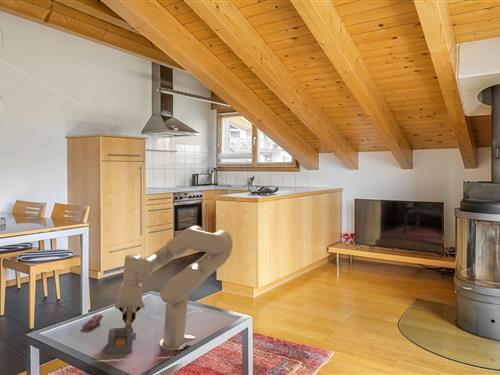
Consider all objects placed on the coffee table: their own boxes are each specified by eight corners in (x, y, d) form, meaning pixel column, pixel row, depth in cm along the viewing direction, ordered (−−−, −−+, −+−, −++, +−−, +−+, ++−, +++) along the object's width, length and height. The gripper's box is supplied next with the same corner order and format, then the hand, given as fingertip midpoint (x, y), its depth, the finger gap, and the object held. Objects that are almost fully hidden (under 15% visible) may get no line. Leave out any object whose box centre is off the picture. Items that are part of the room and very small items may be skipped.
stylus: (131, 331, 182) (133, 301, 181) (131, 334, 179) (133, 304, 179) (124, 331, 181) (126, 301, 181) (124, 334, 178) (126, 304, 178)
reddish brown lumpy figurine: (88, 333, 184) (95, 322, 184) (80, 328, 185) (87, 316, 184) (100, 325, 194) (106, 314, 193) (92, 320, 195) (99, 309, 194)
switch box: (132, 342, 176) (133, 327, 176) (131, 353, 167) (132, 337, 166) (108, 343, 173) (109, 328, 173) (106, 354, 164) (107, 338, 163)
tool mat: (135, 334, 185) (135, 332, 185) (135, 340, 178) (135, 339, 178) (120, 334, 183) (120, 333, 183) (119, 341, 176) (119, 340, 176)
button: (125, 343, 173) (125, 338, 172) (125, 348, 169) (125, 342, 168) (115, 344, 171) (115, 338, 171) (114, 348, 167) (115, 343, 167)
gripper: (149, 279, 185) (146, 317, 186) (113, 279, 180) (110, 318, 181) (150, 284, 178) (147, 324, 179) (112, 284, 173) (109, 325, 174)
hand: (128, 320), depth 180 cm, fingers closed on stylus, 3 cm apart
